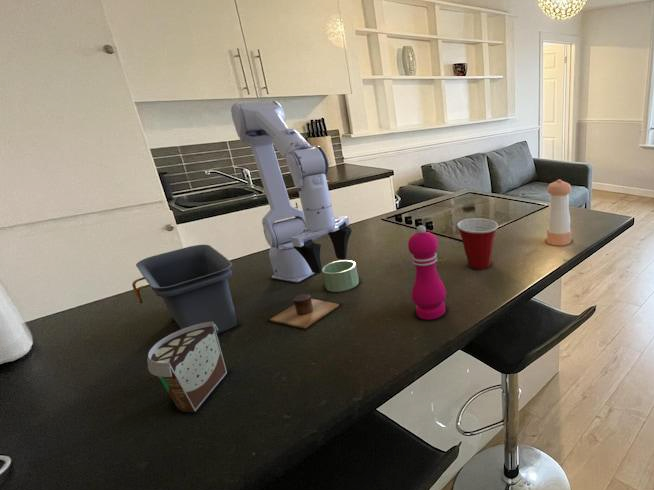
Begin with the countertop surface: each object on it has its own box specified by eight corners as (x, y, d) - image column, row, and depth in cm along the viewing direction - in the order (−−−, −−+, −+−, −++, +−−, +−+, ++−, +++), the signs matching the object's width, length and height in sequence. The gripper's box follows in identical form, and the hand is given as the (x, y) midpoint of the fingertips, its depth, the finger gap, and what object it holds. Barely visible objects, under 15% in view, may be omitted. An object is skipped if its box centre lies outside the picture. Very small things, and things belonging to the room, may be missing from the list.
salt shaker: (574, 239, 126) (576, 178, 119) (564, 247, 120) (565, 183, 113) (553, 235, 130) (553, 176, 123) (542, 243, 124) (542, 181, 117)
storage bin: (256, 325, 87) (237, 264, 82) (167, 361, 76) (138, 294, 71) (224, 296, 100) (206, 242, 95) (145, 323, 90) (119, 264, 84)
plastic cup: (495, 274, 105) (493, 230, 101) (455, 272, 107) (451, 229, 103) (503, 257, 115) (502, 217, 110) (466, 256, 117) (463, 216, 113)
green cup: (318, 289, 102) (314, 271, 100) (341, 275, 108) (337, 258, 107) (344, 293, 99) (340, 275, 97) (365, 279, 106) (362, 262, 104)
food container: (196, 370, 73) (177, 322, 70) (231, 367, 74) (214, 319, 70) (146, 422, 62) (121, 369, 58) (189, 418, 62) (166, 365, 59)
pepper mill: (453, 306, 91) (445, 221, 83) (438, 323, 85) (428, 232, 77) (424, 302, 93) (414, 218, 86) (408, 318, 87) (395, 230, 79)
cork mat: (270, 320, 88) (265, 304, 87) (306, 299, 97) (302, 284, 95) (305, 328, 85) (300, 312, 83) (339, 305, 93) (335, 290, 92)
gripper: (304, 218, 78) (319, 281, 83) (355, 198, 91) (365, 254, 96) (277, 215, 81) (293, 277, 86) (330, 197, 93) (341, 251, 98)
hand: (329, 265), depth 91 cm, fingers open, 7 cm apart
